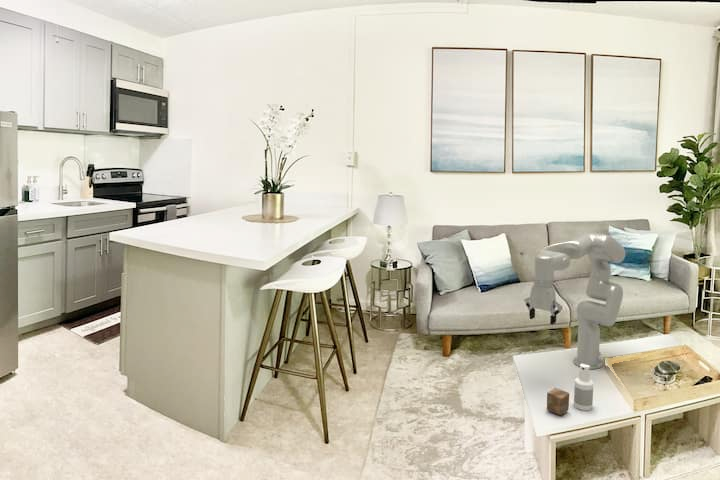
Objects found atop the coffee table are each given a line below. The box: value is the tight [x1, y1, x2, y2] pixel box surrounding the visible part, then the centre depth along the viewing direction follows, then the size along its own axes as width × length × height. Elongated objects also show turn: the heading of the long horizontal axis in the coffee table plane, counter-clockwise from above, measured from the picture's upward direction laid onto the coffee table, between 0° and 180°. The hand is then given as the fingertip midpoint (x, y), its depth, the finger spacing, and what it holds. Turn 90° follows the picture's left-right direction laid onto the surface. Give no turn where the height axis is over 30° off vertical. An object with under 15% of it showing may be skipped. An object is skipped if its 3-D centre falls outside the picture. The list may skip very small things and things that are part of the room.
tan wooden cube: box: [546, 387, 570, 416], centre depth 189 cm, size 6×6×7 cm
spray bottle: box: [573, 364, 594, 412], centre depth 191 cm, size 7×7×18 cm
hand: (542, 321), depth 206 cm, fingers open, 9 cm apart
